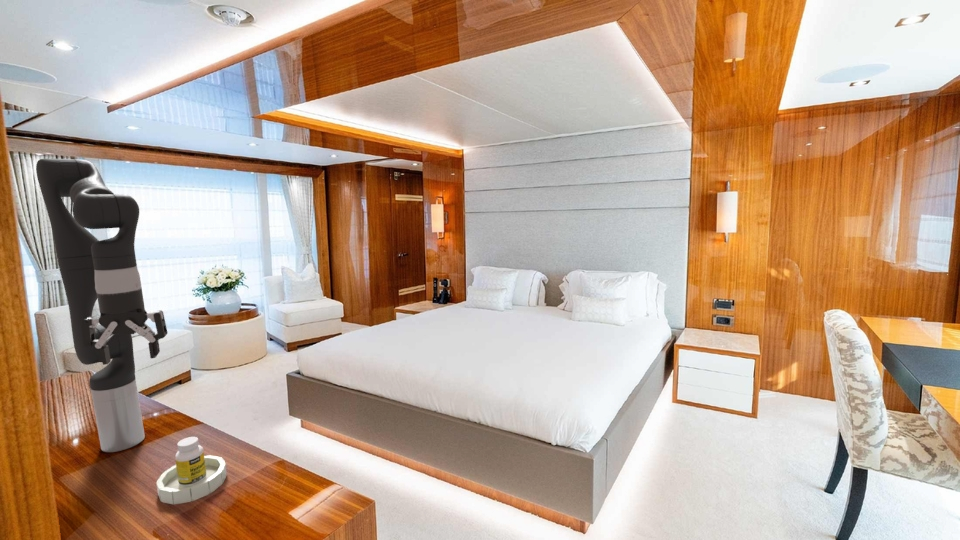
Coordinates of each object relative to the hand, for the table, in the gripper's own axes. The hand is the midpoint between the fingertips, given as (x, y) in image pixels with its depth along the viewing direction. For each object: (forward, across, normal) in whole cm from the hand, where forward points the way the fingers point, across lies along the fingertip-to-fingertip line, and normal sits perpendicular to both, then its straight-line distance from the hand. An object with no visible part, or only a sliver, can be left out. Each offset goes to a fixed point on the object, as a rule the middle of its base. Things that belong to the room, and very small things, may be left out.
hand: (130, 360), depth 96 cm
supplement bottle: (+29, -10, +5) cm, 31 cm away
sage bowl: (+30, -10, +5) cm, 32 cm away
